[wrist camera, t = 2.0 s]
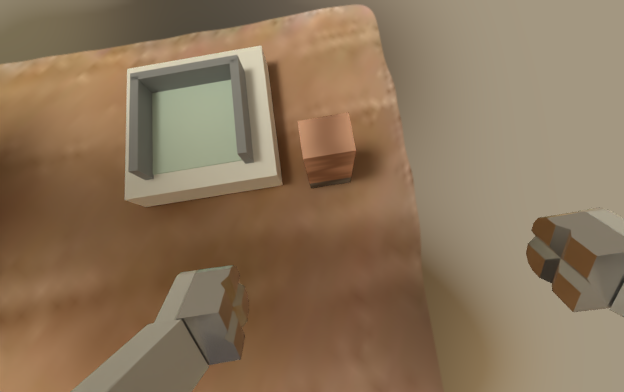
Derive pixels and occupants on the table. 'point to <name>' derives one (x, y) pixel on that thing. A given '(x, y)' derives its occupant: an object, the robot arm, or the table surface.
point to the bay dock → (200, 128)
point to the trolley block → (327, 149)
